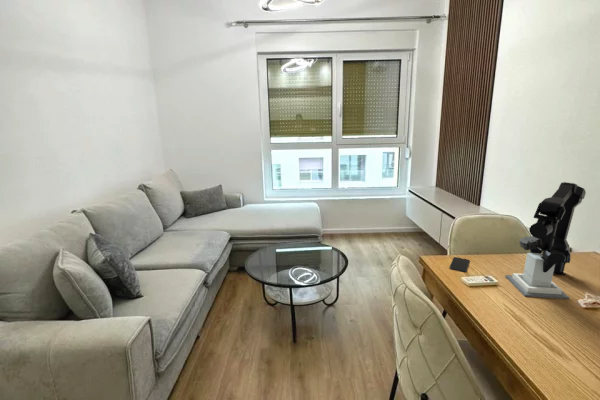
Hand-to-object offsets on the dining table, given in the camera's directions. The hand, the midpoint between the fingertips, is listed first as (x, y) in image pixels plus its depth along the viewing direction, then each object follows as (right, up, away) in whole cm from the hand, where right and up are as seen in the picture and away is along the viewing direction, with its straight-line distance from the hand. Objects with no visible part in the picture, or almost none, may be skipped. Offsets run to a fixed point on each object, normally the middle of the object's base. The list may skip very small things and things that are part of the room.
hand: (539, 267), depth 130 cm
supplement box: (0, -8, +2) cm, 8 cm away
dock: (0, -9, +2) cm, 9 cm away
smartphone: (-21, -4, +23) cm, 31 cm away
